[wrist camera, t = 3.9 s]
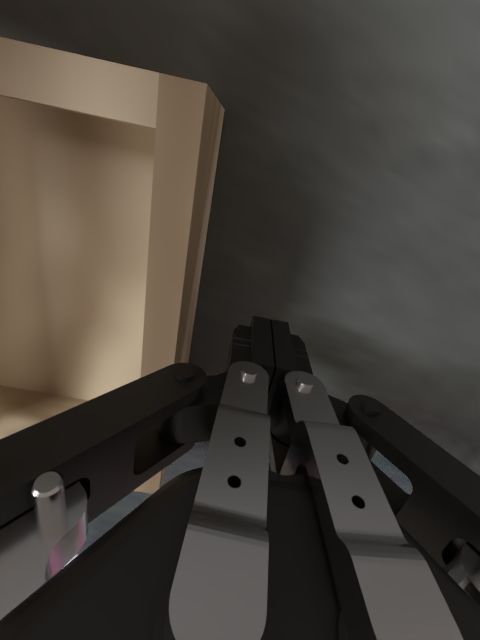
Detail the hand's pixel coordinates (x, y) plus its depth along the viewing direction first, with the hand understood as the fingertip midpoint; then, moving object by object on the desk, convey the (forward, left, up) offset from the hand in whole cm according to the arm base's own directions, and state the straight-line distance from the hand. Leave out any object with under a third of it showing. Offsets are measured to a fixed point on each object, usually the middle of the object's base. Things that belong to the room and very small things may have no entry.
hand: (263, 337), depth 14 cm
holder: (-9, 0, -3) cm, 9 cm away
